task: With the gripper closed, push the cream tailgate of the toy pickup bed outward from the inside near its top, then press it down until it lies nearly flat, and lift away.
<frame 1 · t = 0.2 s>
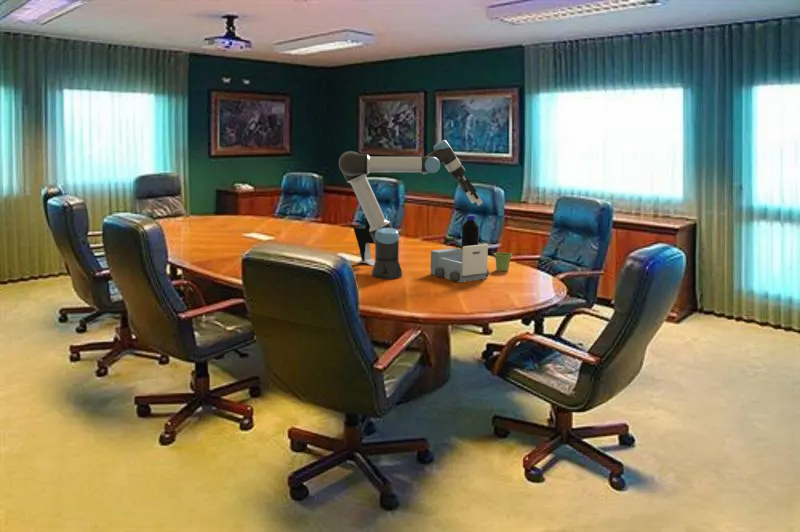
hand: (477, 203, 362), 35 cm above the table, tool tilted 35°, fingers open, 13 cm apart
truck bed: (461, 277, 351), on the table
plant pot: (502, 270, 370), on the table
award: (367, 264, 384), on the table
tailgate: (475, 260, 341), point 10 cm above the table, hinge at 0.0°
bottle: (469, 267, 376), on the table
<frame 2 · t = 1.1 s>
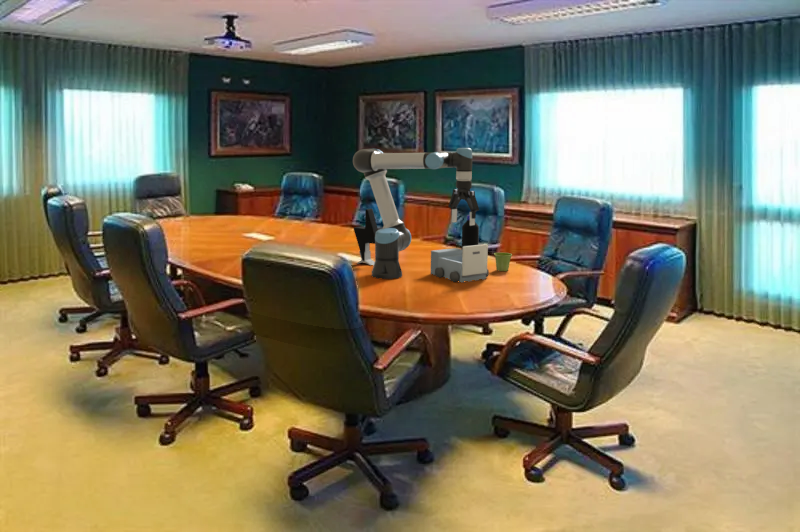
hand: (463, 223, 346), 27 cm above the table, tool pointing down, fingers open, 13 cm apart
nothing on the table moved.
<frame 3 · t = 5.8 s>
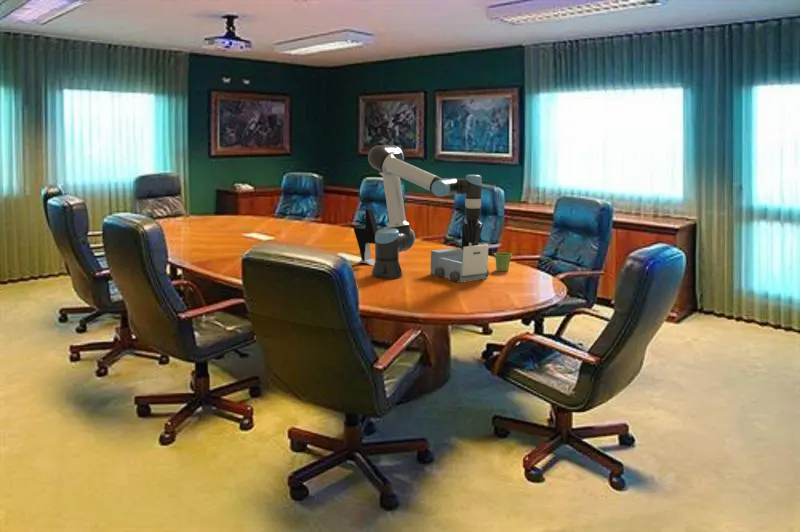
hand: (471, 255, 343), 12 cm above the table, tool pointing down, fingers closed
tailgate: (475, 260, 340), point 10 cm above the table, hinge at 2.2°, touching gripper
everything else where it was.
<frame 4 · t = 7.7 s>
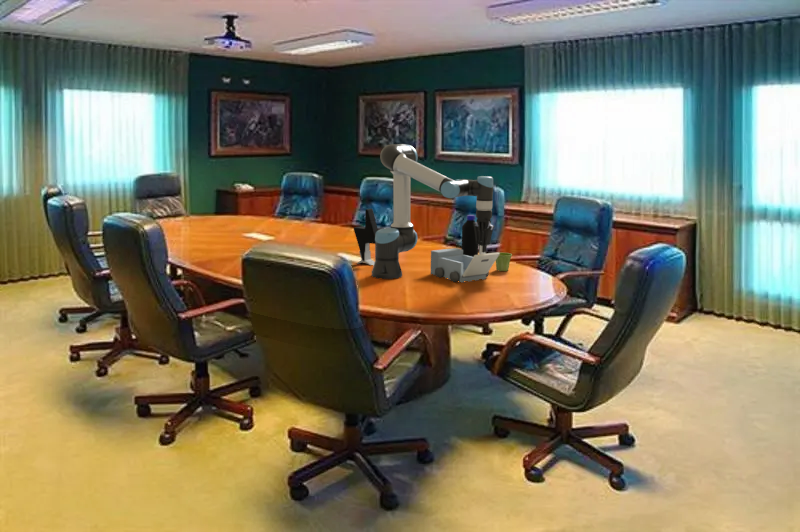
hand: (482, 258, 336), 12 cm above the table, tool pointing down, fingers closed
tailgate: (480, 265, 338), point 8 cm above the table, hinge at 37.5°, touching gripper
everything else where it was.
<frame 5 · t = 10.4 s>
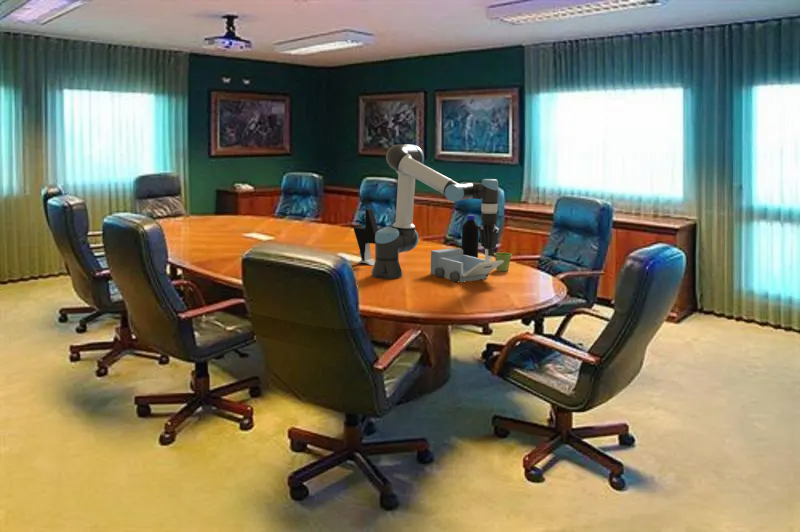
hand: (488, 262, 333), 11 cm above the table, tool pointing down, fingers closed
tailgate: (482, 269, 337), point 7 cm above the table, hinge at 55.9°, touching gripper
everything else where it was.
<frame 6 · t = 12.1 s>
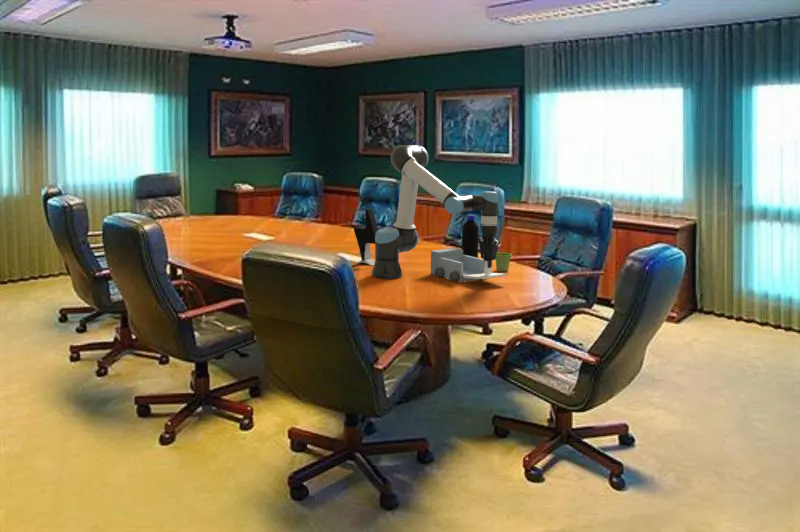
hand: (487, 274, 334), 5 cm above the table, tool pointing down, fingers closed
tailgate: (484, 276, 336), point 4 cm above the table, hinge at 82.8°, touching gripper
everything else where it was.
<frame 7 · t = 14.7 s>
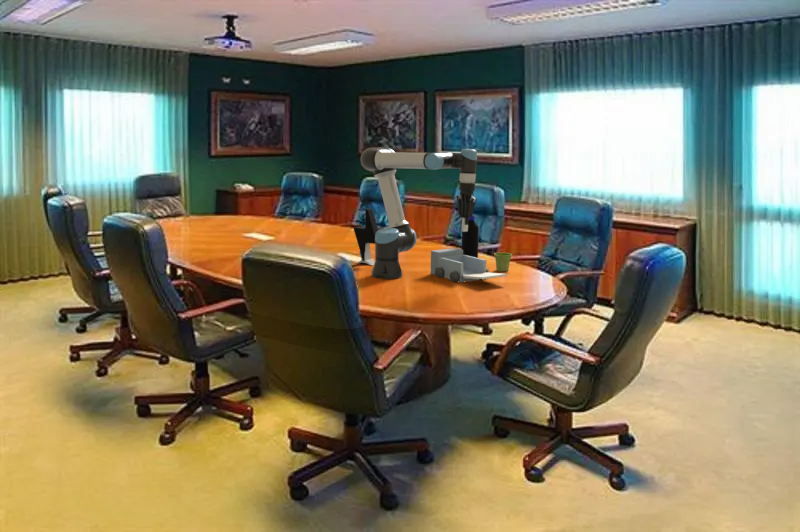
hand: (464, 231, 340), 24 cm above the table, tool pointing down, fingers closed
tailgate: (484, 276, 336), point 4 cm above the table, hinge at 83.1°
everything else where it was.
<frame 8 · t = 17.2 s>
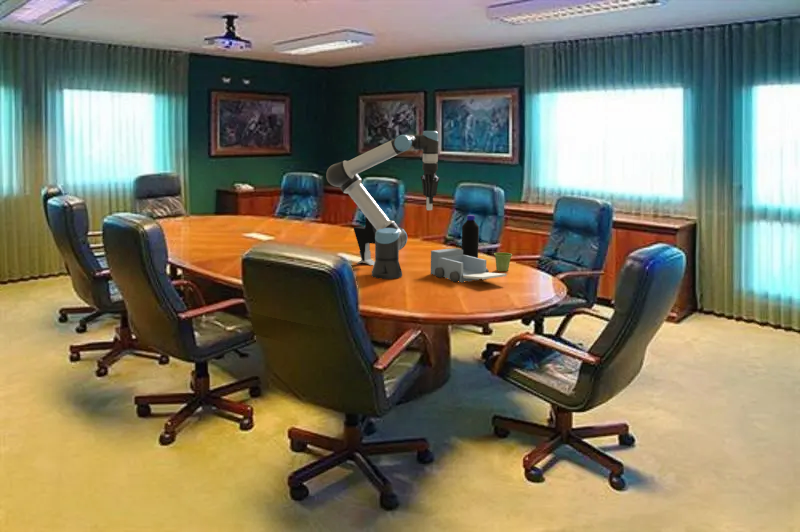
hand: (429, 210, 354), 32 cm above the table, tool pointing down, fingers closed
nothing on the table moved.
at the end: tailgate at +83° (first picture: +0°); the gripper is holding nothing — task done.
